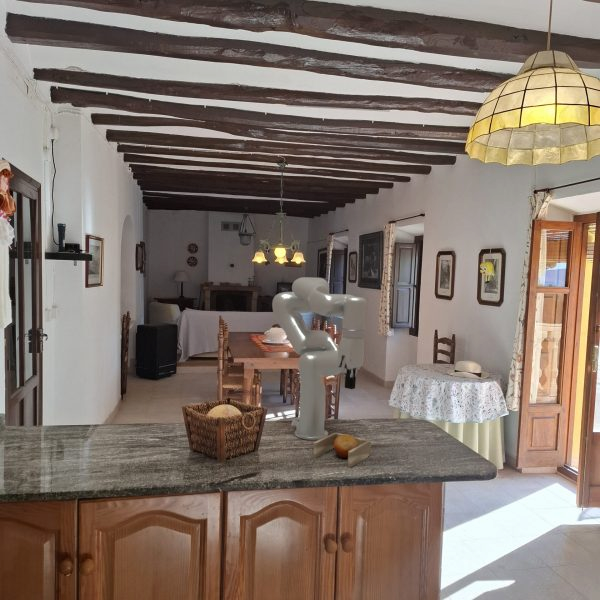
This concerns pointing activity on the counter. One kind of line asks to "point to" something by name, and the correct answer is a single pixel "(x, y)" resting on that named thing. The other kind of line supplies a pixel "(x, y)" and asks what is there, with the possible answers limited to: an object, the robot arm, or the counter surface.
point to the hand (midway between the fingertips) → (349, 388)
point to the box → (353, 455)
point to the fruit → (344, 445)
